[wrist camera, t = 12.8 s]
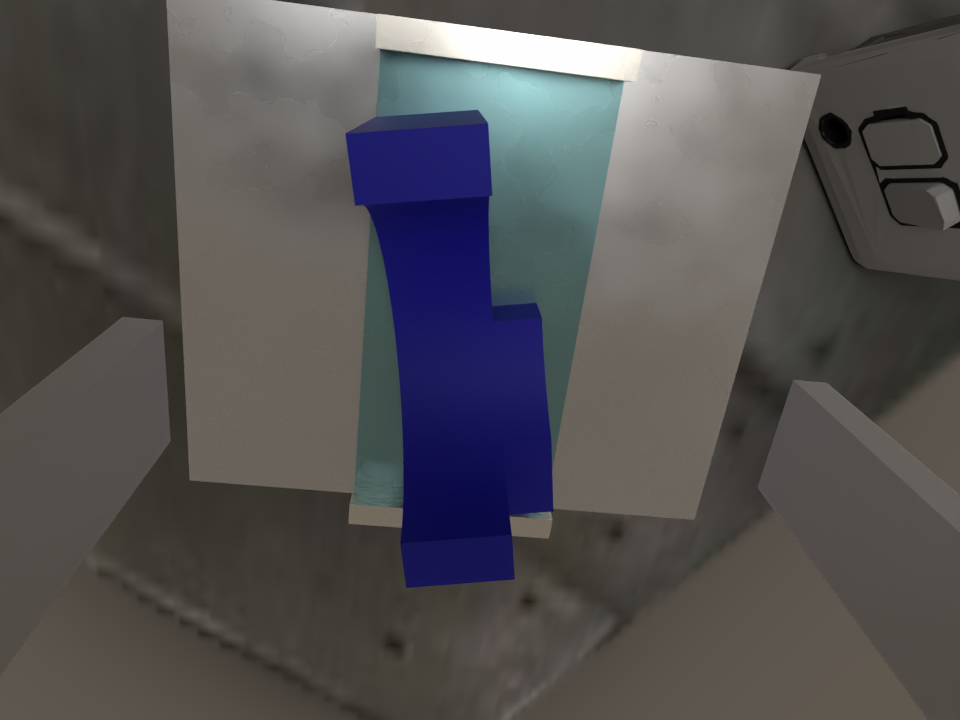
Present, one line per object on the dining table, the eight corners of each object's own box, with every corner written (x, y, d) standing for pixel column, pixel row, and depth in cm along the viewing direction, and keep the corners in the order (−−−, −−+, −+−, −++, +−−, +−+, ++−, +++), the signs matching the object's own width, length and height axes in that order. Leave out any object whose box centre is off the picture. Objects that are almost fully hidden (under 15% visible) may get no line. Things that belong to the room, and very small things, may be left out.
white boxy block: (243, 396, 31) (168, 512, 23) (238, 8, 25) (134, -24, 17) (646, 432, 33) (712, 552, 25) (732, 74, 27) (858, 75, 19)
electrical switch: (771, 71, 27) (952, 53, 18) (888, -4, 27) (1130, -60, 18) (851, 267, 30) (1036, 330, 22) (956, 202, 30) (1188, 240, 21)
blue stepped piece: (541, 462, 25) (568, 575, 19) (416, 471, 25) (406, 587, 19) (529, 106, 20) (559, 118, 14) (374, 116, 20) (345, 133, 14)
